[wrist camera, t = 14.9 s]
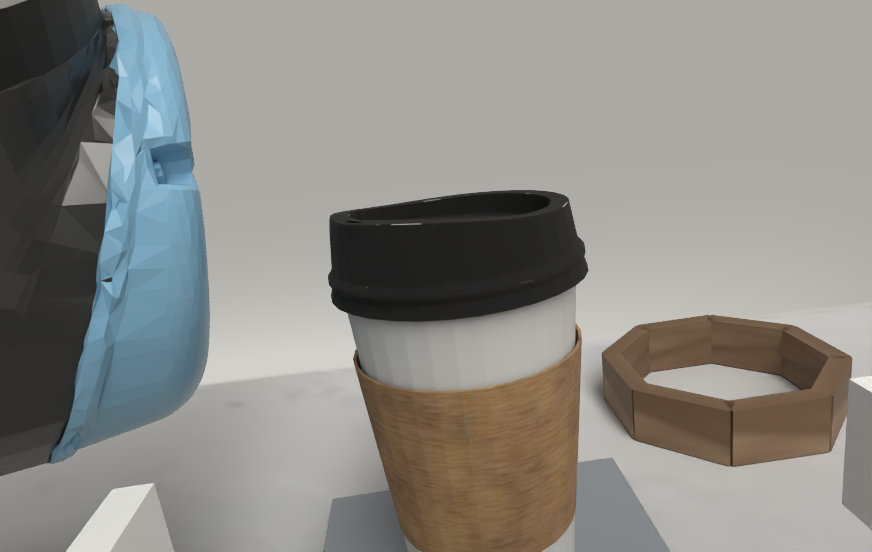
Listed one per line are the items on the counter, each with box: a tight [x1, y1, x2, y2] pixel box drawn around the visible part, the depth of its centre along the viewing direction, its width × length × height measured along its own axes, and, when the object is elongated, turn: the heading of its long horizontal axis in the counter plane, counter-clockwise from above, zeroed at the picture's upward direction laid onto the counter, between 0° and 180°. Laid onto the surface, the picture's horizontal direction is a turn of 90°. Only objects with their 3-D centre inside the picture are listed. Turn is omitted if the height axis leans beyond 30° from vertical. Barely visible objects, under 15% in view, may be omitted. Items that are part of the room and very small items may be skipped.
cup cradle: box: [602, 315, 852, 466], centre depth 35 cm, size 12×12×3 cm
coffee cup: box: [328, 190, 588, 552], centre depth 22 cm, size 8×8×15 cm
